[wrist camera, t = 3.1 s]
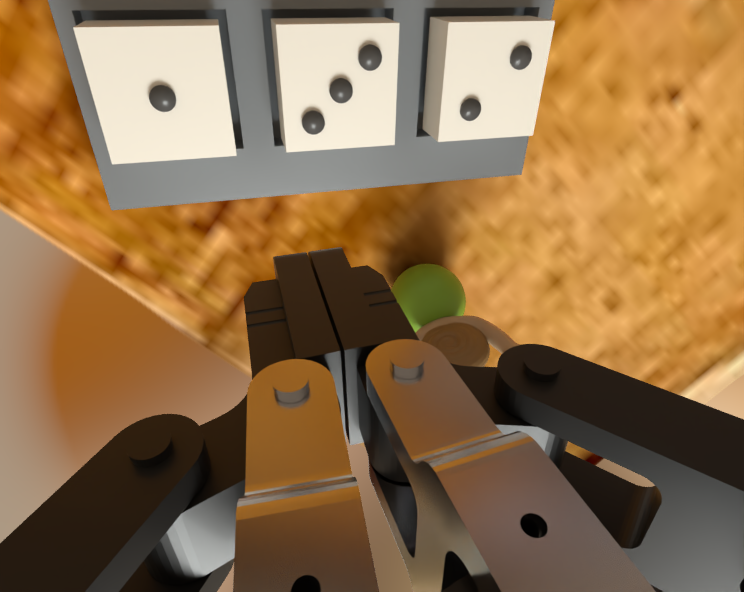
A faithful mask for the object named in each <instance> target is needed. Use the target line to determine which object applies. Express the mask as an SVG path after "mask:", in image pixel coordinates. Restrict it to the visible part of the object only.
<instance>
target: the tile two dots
mask: <svg viewBox="0 0 744 592" xmlns="http://www.w3.org/2000/svg"><path fill="white" fill-rule="evenodd" d="M554 24H555V21H554V20H549V19H544V18H539V17H534V16H443V17H430V26H429V41H428V55H427V69H426V83H425V98H424V112H423V126H422V129H423V130H424V131H426V132H427V133H428V134H429V135H430V136H432V137H433V138H434V139H435V140H436V141H437V142H446V141H460V140H475V139H489V138H504V137H518V136H533V132H534V127H535V122H536V117H537V112H538V107H539V101H540V96H541V91H542V86H543V81H544V76H545V71H546V65H547V60H548V55H549V50H550V45H551V40H552V34H553V29H554Z"/></svg>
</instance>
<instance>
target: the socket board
mask: <svg viewBox="0 0 744 592" xmlns="http://www.w3.org/2000/svg"><path fill="white" fill-rule="evenodd" d="M554 1H555V0H48V2H49V6H50V9H51V12H52V15H53V19H54V22H55V25H56V29H57V32H58V35H59V39H60V42H61V45H62V49H63V52H64V55H65V58H66V62H67V65H68V68H69V72H70V75H71V78H72V82H73V85H74V88H75V92H76V95H77V98H78V102H79V105H80V108H81V111H82V115H83V118H84V121H85V125H86V128H87V131H88V135H89V138H90V141H91V145H92V148H93V151H94V154H95V158H96V161H97V164H98V168H99V171H100V174H101V178H102V181H103V184H104V188H105V191H106V194H107V197H108V201H109V204H110V207H111V210H120V209H132V208H143V207H155V206H166V205H178V204H189V203H201V202H212V201H224V200H235V199H247V198H258V197H270V196H281V195H293V194H304V193H316V192H327V191H339V190H350V189H361V188H373V187H384V186H396V185H407V184H419V183H430V182H442V181H453V180H465V179H476V178H488V177H499V176H511V175H522V169H523V164H524V159H525V154H526V148H527V143H528V138H529V136H518V137H504V138H489V139H475V140H460V141H446V142H437V141H436V140H435V139H434V138H433V137H432V136H430V135H429V134H428V133H427V132H426V131H424V130H423V129H422V126H423V112H424V98H425V83H426V69H427V55H428V41H429V26H430V17H443V16H534V17H539V18H544V19H549V20H551V17H552V11H553V6H554ZM353 17H386V18H388V19H391V20H393V21H396V22H398V23H400V24H399V49H398V74H397V99H396V124H395V145H387V146H373V147H358V148H344V149H329V150H315V151H300V152H286V150H285V147H284V144H283V142H282V139H281V132H280V121H279V109H278V98H277V86H276V75H275V64H274V52H273V41H272V29H271V18H353ZM173 19H218V23H219V30H220V37H221V44H222V51H223V58H224V66H225V73H226V80H227V87H228V94H229V101H230V109H231V116H232V123H233V130H234V137H235V145H236V154H237V156H228V157H213V158H198V159H184V160H169V161H155V162H140V163H126V164H112V162H111V159H110V155H109V152H108V148H107V145H106V141H105V138H104V134H103V131H102V127H101V124H100V120H99V117H98V113H97V110H96V106H95V103H94V99H93V96H92V92H91V89H90V85H89V82H88V78H87V75H86V71H85V68H84V64H83V61H82V57H81V54H80V50H79V47H78V43H77V40H76V36H75V33H74V29H73V27H75V26H77V25H78V24H80V23H82V22H84V21H86V20H173Z"/></svg>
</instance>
